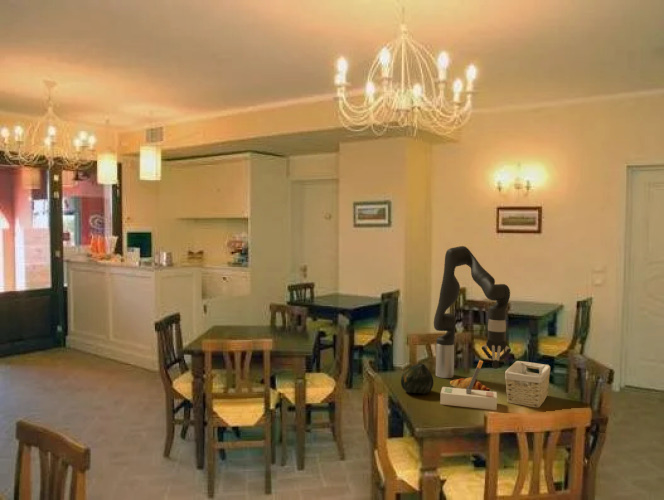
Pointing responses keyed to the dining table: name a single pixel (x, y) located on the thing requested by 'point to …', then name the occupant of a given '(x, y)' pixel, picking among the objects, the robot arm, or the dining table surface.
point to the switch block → (468, 398)
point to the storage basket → (527, 384)
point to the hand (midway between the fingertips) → (495, 368)
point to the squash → (417, 379)
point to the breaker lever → (475, 374)
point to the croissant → (465, 383)
